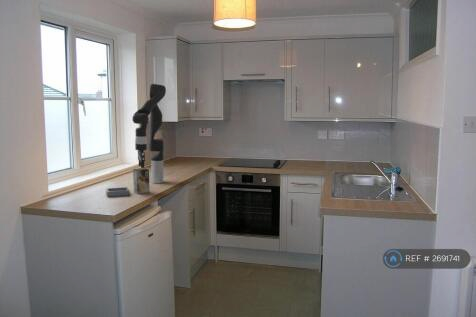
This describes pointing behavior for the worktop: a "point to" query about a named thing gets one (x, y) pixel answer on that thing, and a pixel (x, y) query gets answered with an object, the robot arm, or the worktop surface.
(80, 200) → the worktop surface
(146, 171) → the coffee box
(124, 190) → the tray
